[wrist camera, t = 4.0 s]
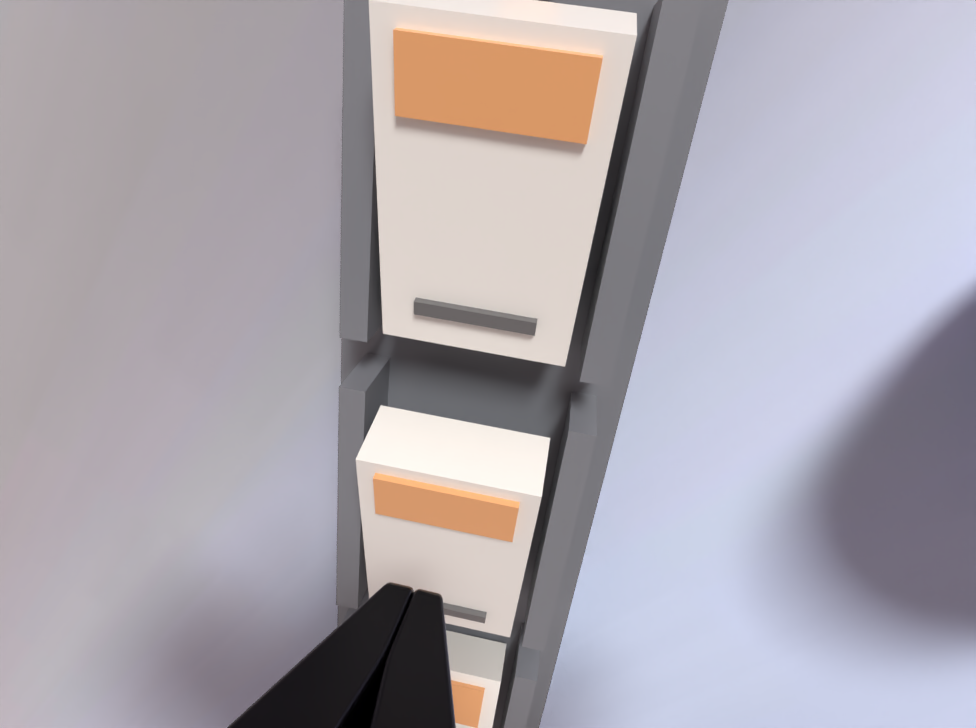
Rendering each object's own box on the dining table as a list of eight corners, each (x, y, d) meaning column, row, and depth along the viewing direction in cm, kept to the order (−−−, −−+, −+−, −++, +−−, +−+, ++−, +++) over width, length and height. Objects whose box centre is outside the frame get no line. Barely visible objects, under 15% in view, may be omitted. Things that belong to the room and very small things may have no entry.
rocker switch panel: (518, 747, 27) (500, 906, 22) (368, 711, 28) (316, 858, 22) (712, -52, 14) (784, -130, 8) (410, -87, 14) (304, -180, 9)
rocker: (571, 321, 13) (564, 371, 12) (405, 291, 14) (380, 337, 12) (636, 12, 9) (636, 37, 8) (401, -17, 10) (365, 2, 8)
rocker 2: (518, 582, 17) (509, 643, 16) (388, 553, 17) (367, 611, 16) (550, 437, 13) (540, 503, 12) (381, 405, 13) (353, 465, 12)
